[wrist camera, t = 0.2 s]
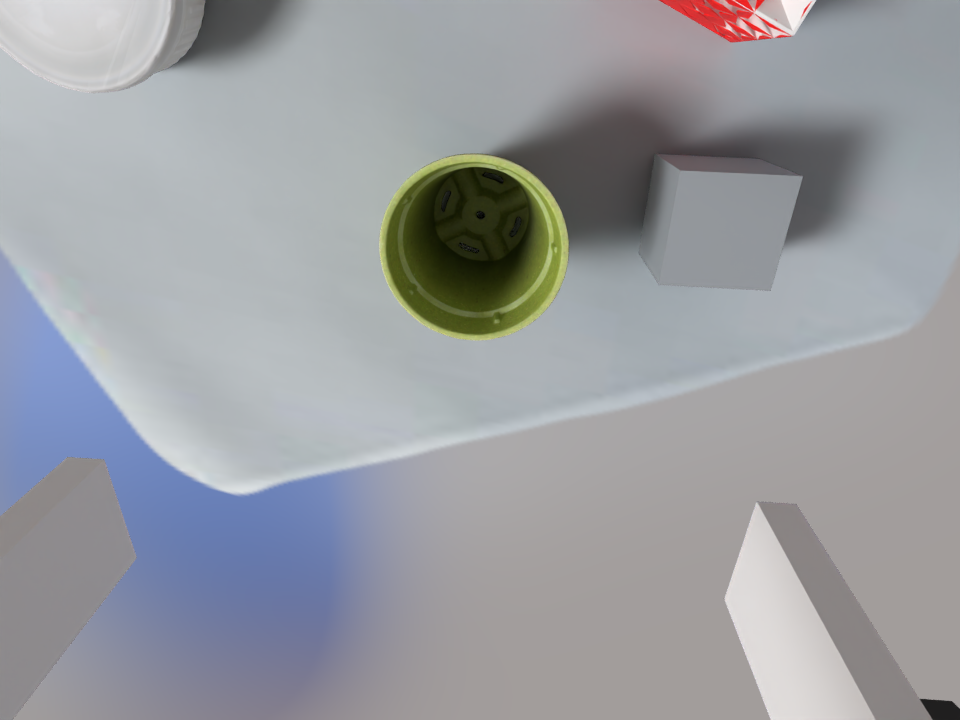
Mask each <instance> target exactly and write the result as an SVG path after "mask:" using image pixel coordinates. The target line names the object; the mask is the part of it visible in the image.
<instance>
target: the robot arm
mask: <svg viewBox="0 0 960 720" xmlns="http://www.w3.org/2000/svg"><path fill="white" fill-rule="evenodd" d="M135 559H136V554H135V551H134V548H133V545H132V542H131V539H130V536H129V533H128V530H127V527H126V525H125V521H124V518H123V515H122V512H121V509H120V506H119V503H118V500H117V497H116V494H115V491H114V488H113V485H112V482H111V479H110V476H109V473H108V470H107V467H106V463H105V461H104V459H89V458H88V459H87V458H73V457H67V458H66V459H65V460H64V461H63V462H62V463H60V464H59V465H58V466H57V467H56V468H55V469H54V470H53V471H52V472H50V473H49V474H48V475H47V476H46V477H45V478H43V479H42V480H41V481H40V482H39V483H38V484H37V485H35V486H34V487H33V488H32V489H31V490H30V491H29V492H28V493H26V494H25V495H24V496H23V497H22V498H21V499H20V500H18V501H17V502H16V503H15V504H14V505H13V506H12V507H10V508H9V509H8V510H7V511H6V512H5V513H4V514H3V515H2V516H0V720H13V719H14V717H15V716H16V715H17V713H18V712H19V711H20V710H21V708H22V707H23V706H24V704H25V703H26V702H27V700H28V699H29V698H30V697H31V695H32V694H33V693H34V691H35V690H36V689H37V687H38V686H39V685H40V683H41V682H42V681H43V680H44V678H45V677H46V676H47V674H48V673H49V672H50V670H51V669H52V668H53V666H54V665H55V664H56V663H57V661H58V660H59V659H60V657H61V656H62V655H63V653H64V652H65V651H66V649H67V648H68V647H69V646H70V644H71V643H72V642H73V640H74V639H75V638H76V636H77V635H78V634H79V632H80V631H81V630H82V629H83V627H84V626H85V625H86V623H87V622H88V620H89V619H90V618H91V617H92V616H93V614H94V613H95V612H96V610H97V609H98V608H99V606H100V605H101V604H102V602H103V601H104V600H105V599H106V597H107V596H108V595H109V593H110V592H111V590H112V589H113V588H114V587H115V585H116V584H117V583H118V582H119V580H120V579H121V578H122V576H123V575H124V574H125V572H126V571H127V570H128V569H129V567H130V566H131V565H132V563H133V562H134V560H135ZM725 602H726V604H727V607H728V610H729V612H730V615H731V618H732V620H733V623H734V625H735V628H736V630H737V633H738V636H739V638H740V641H741V643H742V646H743V648H744V651H745V654H746V656H747V659H748V661H749V664H750V666H751V669H752V672H753V675H754V677H755V680H756V682H757V685H758V688H759V690H760V693H761V695H762V698H763V700H764V703H765V706H766V708H767V711H768V713H769V716H770V719H771V720H960V709H959V708H958V707H957V706H956V705H955V704H954V703H953V702H952V701H942V700H927V699H919V697H918V696H917V694H916V693H915V691H914V690H913V688H912V686H911V685H910V683H909V682H908V680H907V678H906V677H905V675H904V674H903V672H902V670H901V669H900V667H899V666H898V664H897V663H896V661H895V659H894V658H893V656H892V655H891V653H890V652H889V650H888V648H887V647H886V645H885V644H884V642H883V640H882V639H881V637H880V636H879V634H878V633H877V631H876V629H875V628H874V626H873V625H872V623H871V622H870V620H869V618H868V617H867V615H866V613H865V612H864V611H863V609H862V607H861V606H860V604H859V602H858V601H857V599H856V598H855V596H854V594H853V593H852V591H851V590H850V588H849V587H848V585H847V584H846V582H845V580H844V579H843V577H842V575H841V574H840V572H839V571H838V569H837V567H836V566H835V564H834V563H833V561H832V560H831V558H830V556H829V555H828V553H827V552H826V550H825V548H824V547H823V545H822V544H821V542H820V541H819V539H818V537H817V536H816V534H815V533H814V531H813V529H812V528H811V527H810V525H809V523H808V522H807V520H806V519H805V517H804V515H803V514H802V512H801V510H800V509H799V507H798V506H797V504H787V503H773V502H756V505H755V509H754V511H753V514H752V518H751V520H750V524H749V526H748V530H747V533H746V536H745V539H744V542H743V545H742V548H741V551H740V554H739V557H738V560H737V563H736V566H735V569H734V572H733V575H732V578H731V581H730V584H729V587H728V590H727V593H726V596H725Z"/></svg>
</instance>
